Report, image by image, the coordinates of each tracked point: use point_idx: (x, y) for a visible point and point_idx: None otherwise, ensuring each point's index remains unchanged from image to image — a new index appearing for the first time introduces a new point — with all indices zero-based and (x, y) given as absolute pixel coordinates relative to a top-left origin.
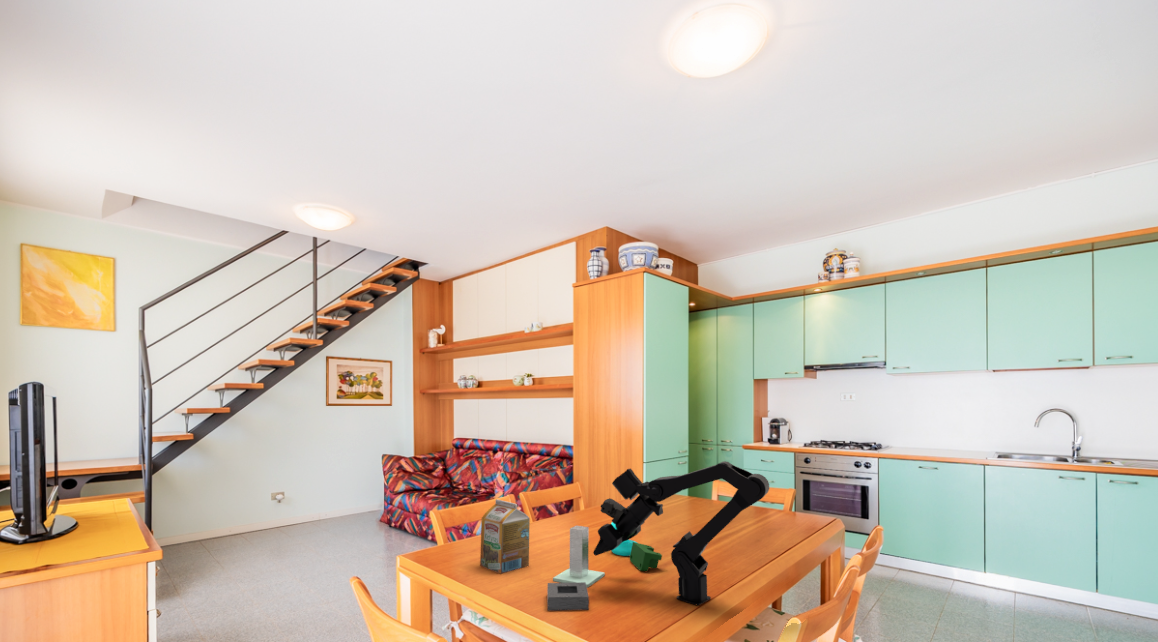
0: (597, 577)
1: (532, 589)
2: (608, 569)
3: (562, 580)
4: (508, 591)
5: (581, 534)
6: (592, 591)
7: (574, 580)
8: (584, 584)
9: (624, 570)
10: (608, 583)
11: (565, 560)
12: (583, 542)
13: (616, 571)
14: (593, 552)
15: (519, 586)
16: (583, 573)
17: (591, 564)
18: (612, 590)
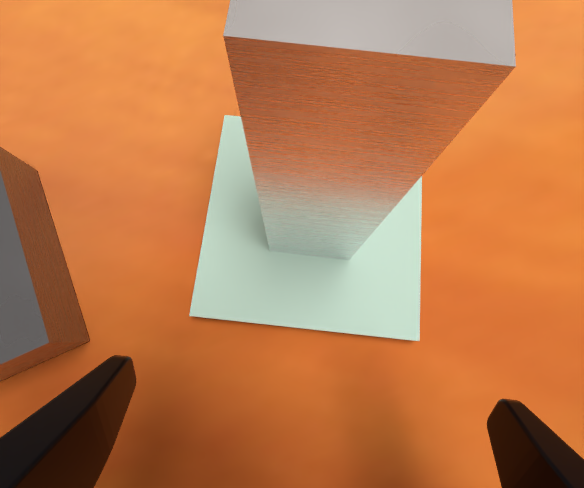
0: (319, 328)
1: (93, 86)
2: (525, 325)
3: (217, 166)
4: (45, 14)
5: (236, 83)
6: (146, 360)
7: (225, 225)
8: (7, 350)
9: (561, 429)
10: (299, 406)
11: (534, 69)
12: (284, 164)
13: (517, 384)
14: (107, 361)
15: (114, 27)
16: (288, 248)
17: (551, 207)
18: (196, 470)
